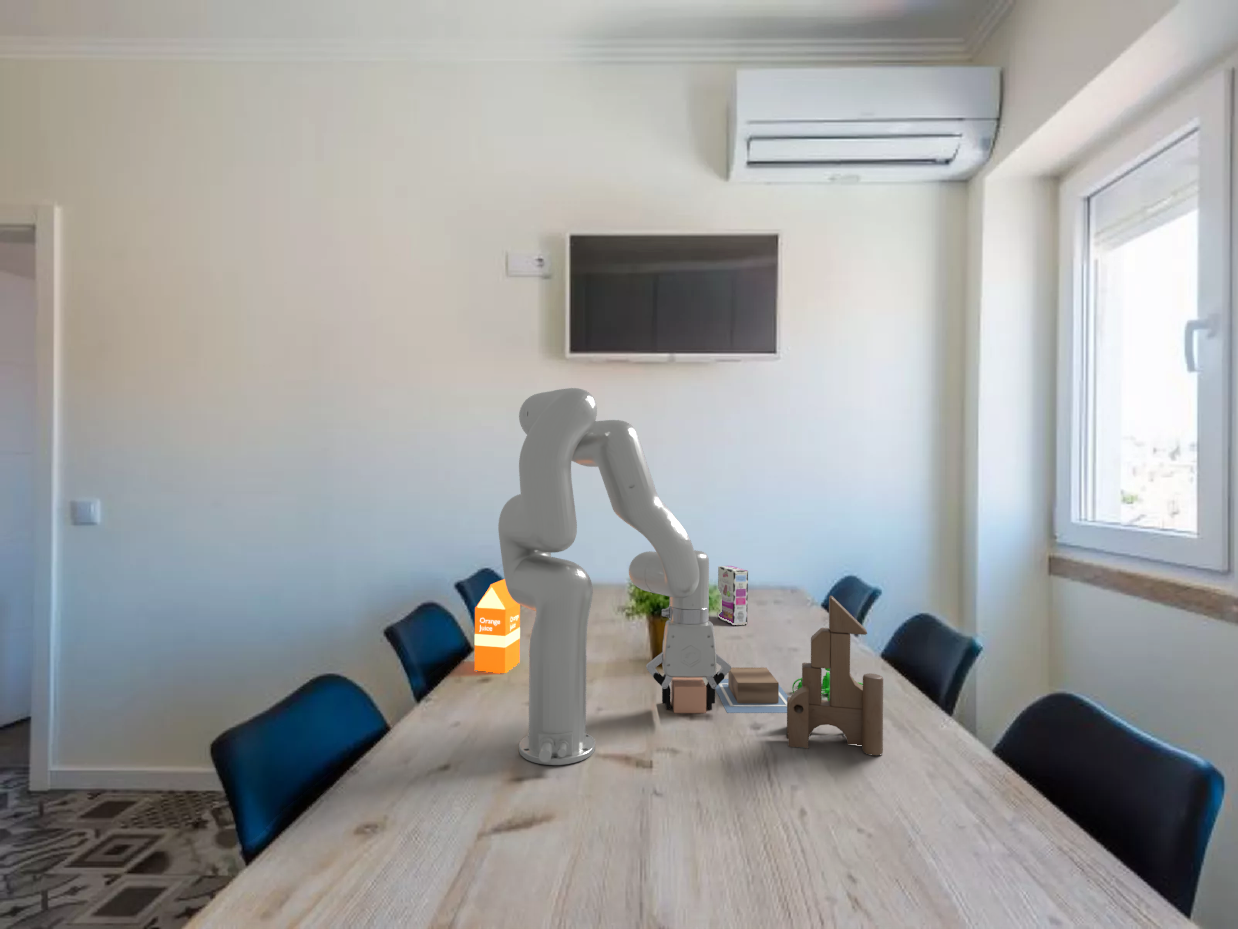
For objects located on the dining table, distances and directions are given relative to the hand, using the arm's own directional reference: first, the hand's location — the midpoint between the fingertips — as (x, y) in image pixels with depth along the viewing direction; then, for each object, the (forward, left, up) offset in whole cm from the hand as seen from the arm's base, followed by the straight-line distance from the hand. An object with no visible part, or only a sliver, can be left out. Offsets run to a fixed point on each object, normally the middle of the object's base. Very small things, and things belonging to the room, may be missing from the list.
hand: (688, 706), depth 130 cm
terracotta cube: (0, 0, -1) cm, 1 cm away
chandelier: (+7, -30, -2) cm, 31 cm away
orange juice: (+29, +41, -1) cm, 50 cm away
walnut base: (+7, -14, 0) cm, 16 cm away
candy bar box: (+75, -23, -1) cm, 78 cm away
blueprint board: (+7, -14, -1) cm, 16 cm away
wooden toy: (-15, -23, -1) cm, 27 cm away
